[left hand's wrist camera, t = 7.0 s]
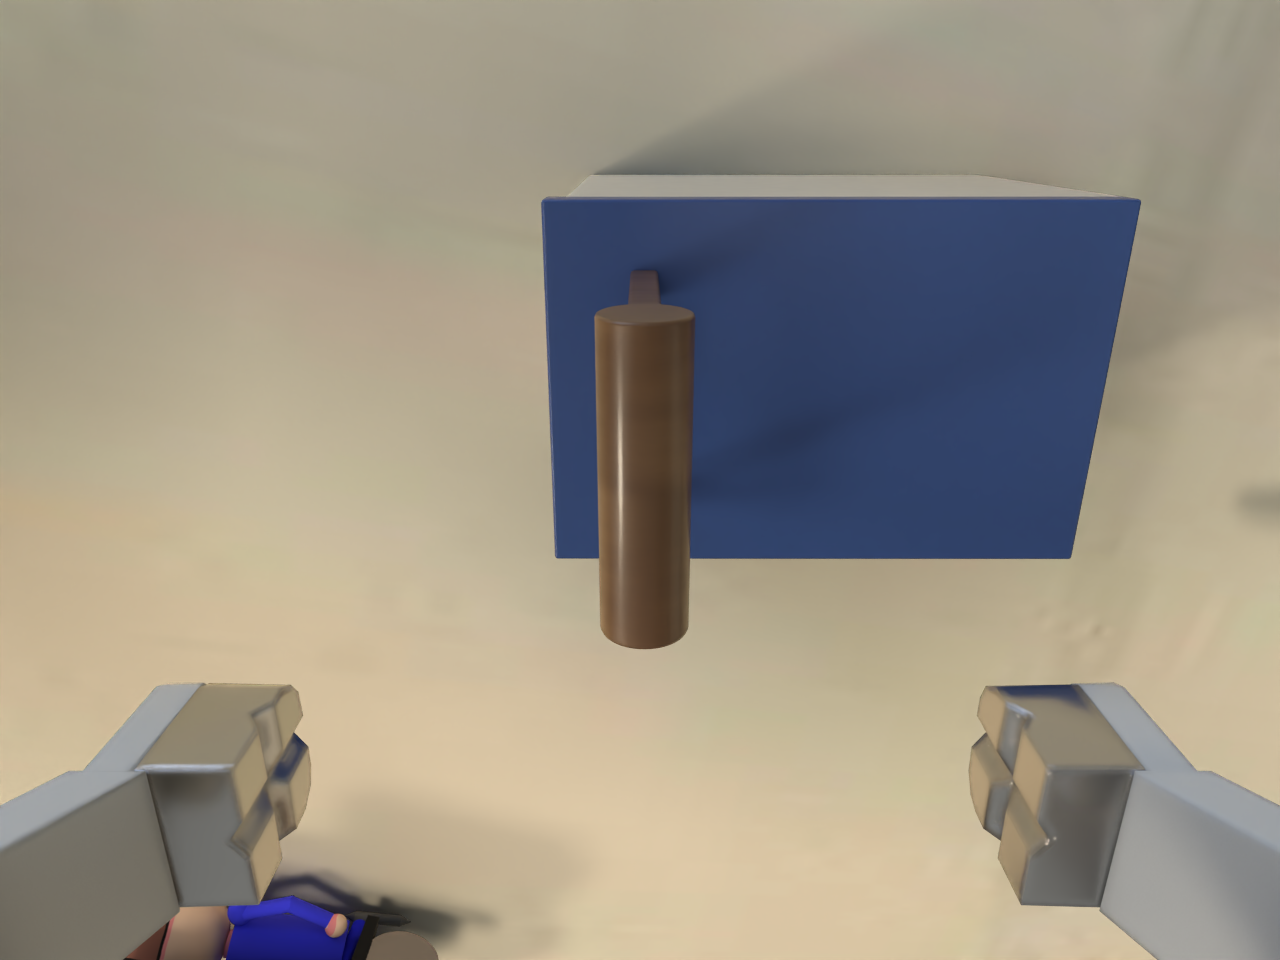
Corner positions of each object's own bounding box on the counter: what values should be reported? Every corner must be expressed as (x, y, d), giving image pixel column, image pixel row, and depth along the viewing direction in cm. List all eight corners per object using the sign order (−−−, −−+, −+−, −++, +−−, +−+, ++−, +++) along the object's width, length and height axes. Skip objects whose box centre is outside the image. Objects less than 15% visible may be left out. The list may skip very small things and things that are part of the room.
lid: (557, 544, 27) (523, 713, 19) (544, 196, 23) (496, 232, 15) (1056, 544, 27) (1223, 714, 19) (1122, 196, 23) (1362, 232, 15)
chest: (593, 430, 37) (575, 543, 27) (588, 174, 33) (565, 196, 23) (944, 430, 37) (1056, 544, 27) (978, 174, 33) (1122, 196, 23)
